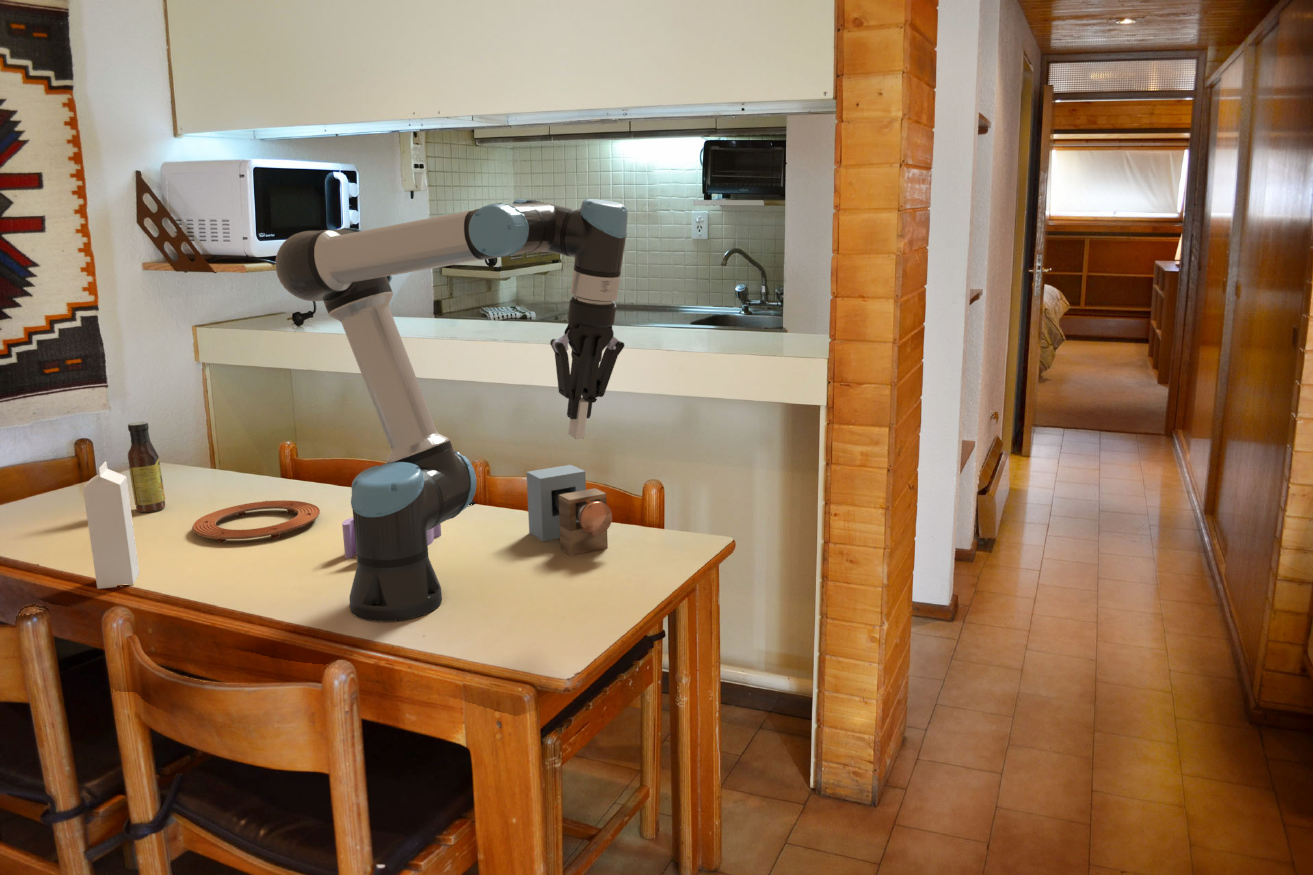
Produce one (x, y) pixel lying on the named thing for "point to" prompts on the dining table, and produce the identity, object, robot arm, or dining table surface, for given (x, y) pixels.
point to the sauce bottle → (145, 470)
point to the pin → (588, 514)
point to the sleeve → (578, 523)
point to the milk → (111, 529)
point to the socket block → (550, 498)
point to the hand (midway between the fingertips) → (576, 436)
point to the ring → (211, 530)
